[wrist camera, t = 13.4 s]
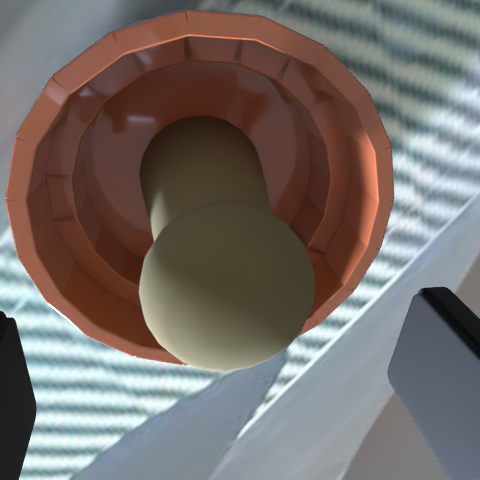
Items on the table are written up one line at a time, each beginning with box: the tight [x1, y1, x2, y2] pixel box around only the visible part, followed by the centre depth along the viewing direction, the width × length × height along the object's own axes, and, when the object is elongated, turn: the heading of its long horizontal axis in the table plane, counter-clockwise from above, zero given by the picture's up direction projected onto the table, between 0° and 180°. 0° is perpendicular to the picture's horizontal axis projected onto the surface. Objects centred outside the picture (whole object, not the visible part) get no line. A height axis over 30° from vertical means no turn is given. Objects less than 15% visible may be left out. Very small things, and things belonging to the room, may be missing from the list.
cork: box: [139, 116, 315, 371], centre depth 16 cm, size 6×6×11 cm
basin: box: [5, 9, 394, 365], centre depth 18 cm, size 14×14×6 cm
